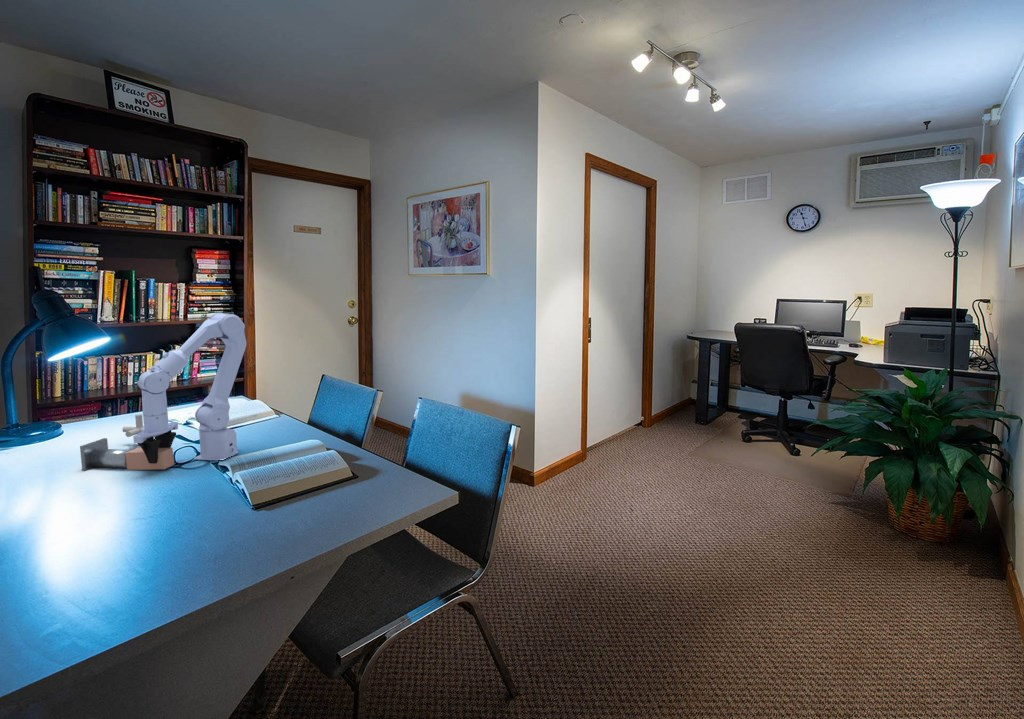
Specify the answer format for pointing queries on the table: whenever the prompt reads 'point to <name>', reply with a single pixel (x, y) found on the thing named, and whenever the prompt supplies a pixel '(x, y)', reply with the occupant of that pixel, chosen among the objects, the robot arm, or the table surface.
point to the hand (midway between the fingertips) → (158, 460)
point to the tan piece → (139, 460)
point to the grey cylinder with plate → (101, 455)
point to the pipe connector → (134, 430)
